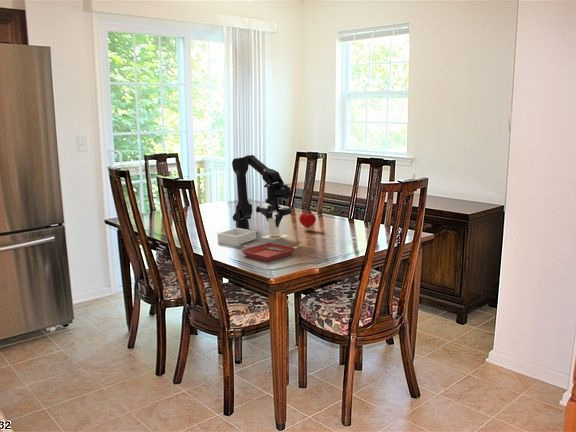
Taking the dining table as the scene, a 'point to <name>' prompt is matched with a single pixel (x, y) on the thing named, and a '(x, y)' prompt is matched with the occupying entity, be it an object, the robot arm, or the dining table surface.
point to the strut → (273, 227)
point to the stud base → (274, 237)
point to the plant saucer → (268, 251)
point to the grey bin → (236, 236)
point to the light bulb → (307, 220)
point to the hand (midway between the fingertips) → (273, 226)
